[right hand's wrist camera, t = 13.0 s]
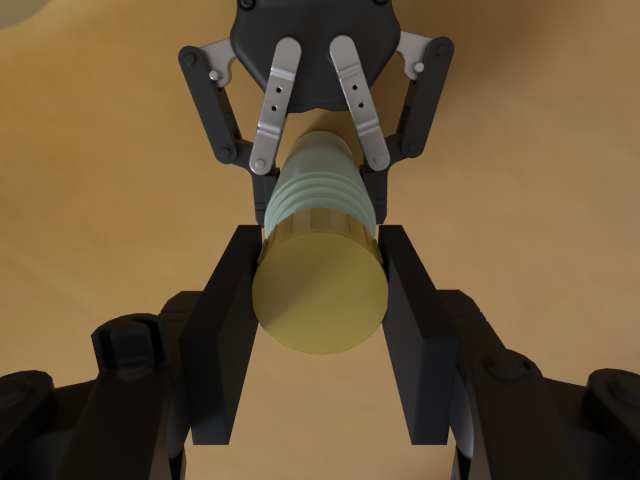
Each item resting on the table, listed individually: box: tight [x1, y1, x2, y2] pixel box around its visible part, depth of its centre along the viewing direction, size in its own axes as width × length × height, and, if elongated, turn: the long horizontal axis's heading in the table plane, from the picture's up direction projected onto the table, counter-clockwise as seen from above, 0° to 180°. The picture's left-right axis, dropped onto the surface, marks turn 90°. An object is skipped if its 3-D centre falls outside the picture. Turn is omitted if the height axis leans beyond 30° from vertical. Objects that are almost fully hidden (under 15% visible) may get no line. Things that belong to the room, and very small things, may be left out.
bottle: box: [264, 131, 376, 239], centre depth 22 cm, size 5×5×19 cm
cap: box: [252, 208, 389, 355], centre depth 13 cm, size 4×4×2 cm
